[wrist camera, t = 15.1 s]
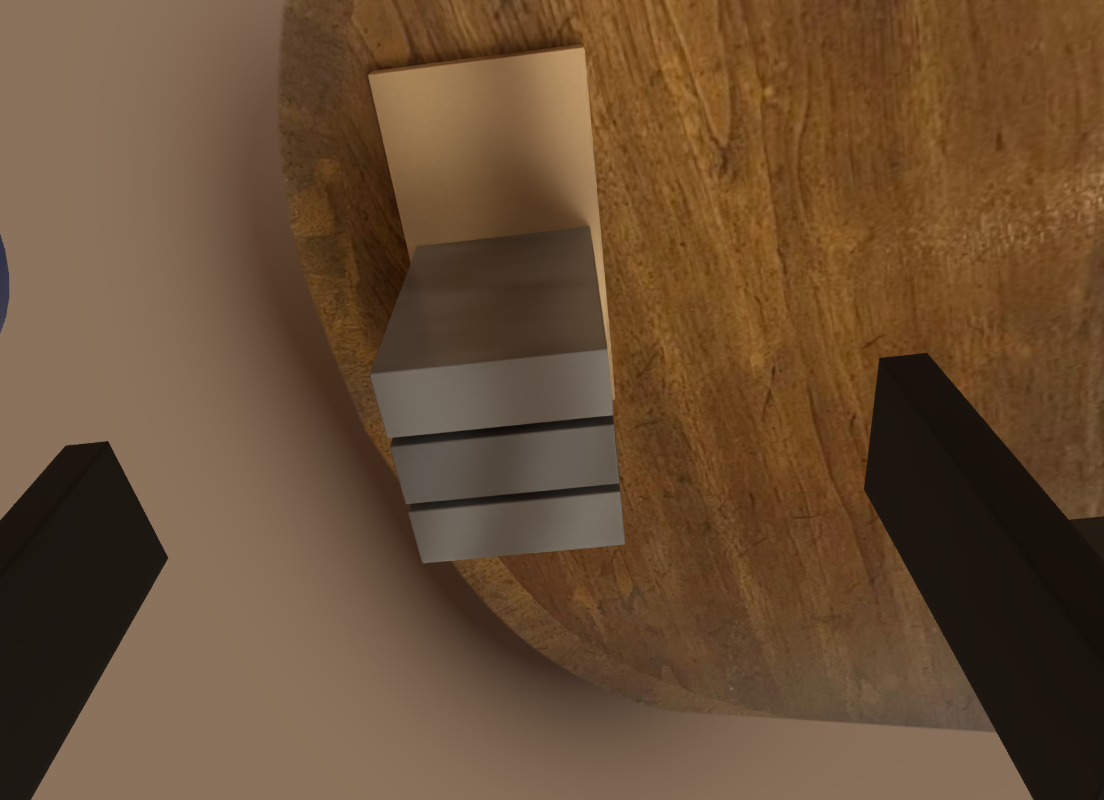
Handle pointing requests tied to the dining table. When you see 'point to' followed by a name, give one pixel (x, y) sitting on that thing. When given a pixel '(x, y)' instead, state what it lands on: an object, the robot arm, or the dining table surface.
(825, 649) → the dining table surface
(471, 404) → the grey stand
